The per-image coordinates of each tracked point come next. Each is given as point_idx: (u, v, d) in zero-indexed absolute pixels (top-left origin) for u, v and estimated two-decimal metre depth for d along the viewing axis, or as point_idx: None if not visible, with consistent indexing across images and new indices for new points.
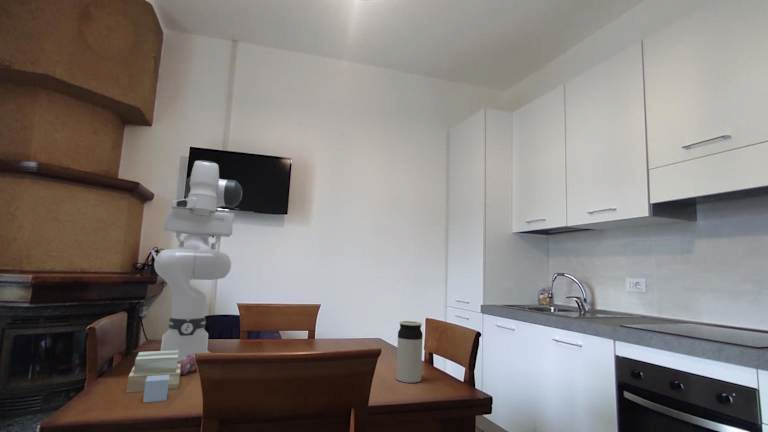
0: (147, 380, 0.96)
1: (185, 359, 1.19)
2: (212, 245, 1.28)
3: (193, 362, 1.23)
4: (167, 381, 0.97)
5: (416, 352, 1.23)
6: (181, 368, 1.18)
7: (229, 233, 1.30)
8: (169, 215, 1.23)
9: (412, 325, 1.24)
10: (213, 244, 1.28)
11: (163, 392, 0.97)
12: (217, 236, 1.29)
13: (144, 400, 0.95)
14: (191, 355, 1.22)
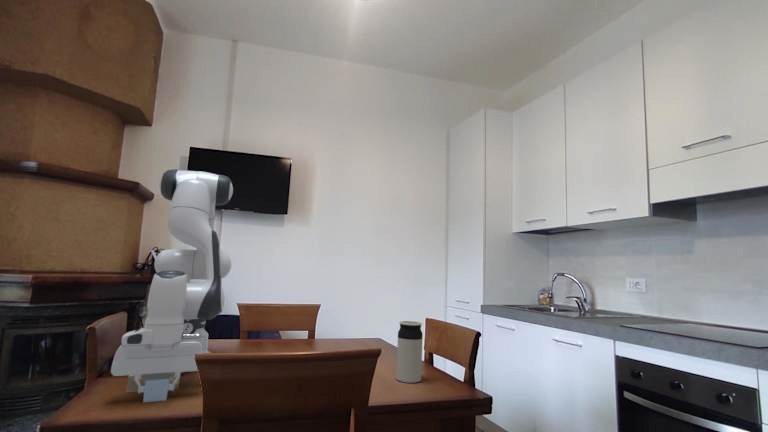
0: (147, 380, 0.96)
1: None
2: (169, 387, 0.99)
3: None
4: (167, 381, 0.97)
5: (416, 352, 1.23)
6: None
7: None
8: (117, 356, 0.93)
9: (412, 325, 1.24)
10: (171, 385, 0.99)
11: (164, 392, 0.97)
12: (176, 374, 1.00)
13: (144, 400, 0.95)
14: None
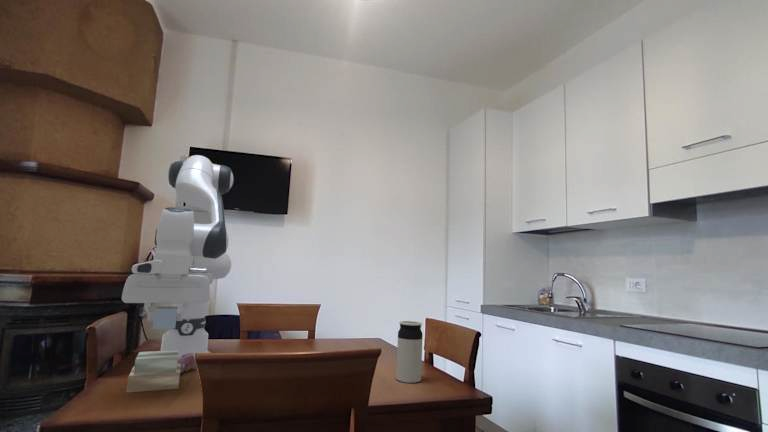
0: (156, 308, 1.00)
1: (180, 359, 1.19)
2: (177, 317, 1.02)
3: (188, 362, 1.23)
4: (176, 310, 1.01)
5: (416, 352, 1.23)
6: None
7: (205, 300, 1.05)
8: (127, 283, 0.97)
9: (412, 325, 1.24)
10: (179, 315, 1.02)
11: (172, 320, 1.00)
12: (184, 305, 1.03)
13: (154, 326, 0.98)
14: (186, 355, 1.22)
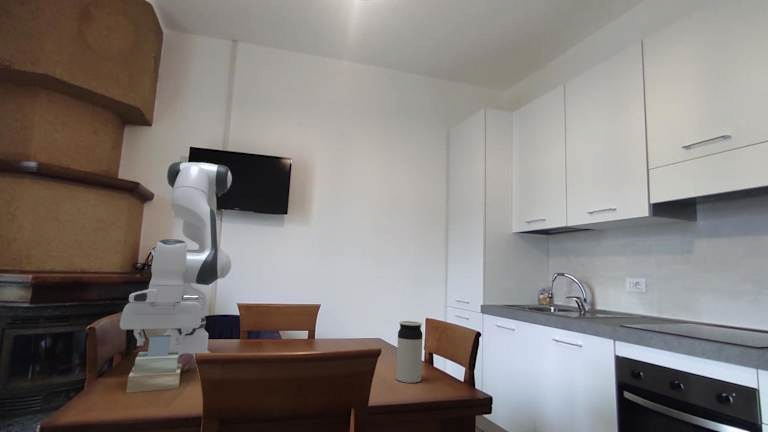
0: (151, 337, 1.08)
1: (178, 358, 1.20)
2: (177, 341, 1.12)
3: (186, 361, 1.23)
4: (169, 338, 1.10)
5: (416, 352, 1.23)
6: None
7: (197, 325, 1.14)
8: (125, 311, 1.06)
9: (412, 325, 1.24)
10: (178, 339, 1.12)
11: (165, 348, 1.09)
12: (183, 330, 1.13)
13: (148, 354, 1.07)
14: (184, 354, 1.22)
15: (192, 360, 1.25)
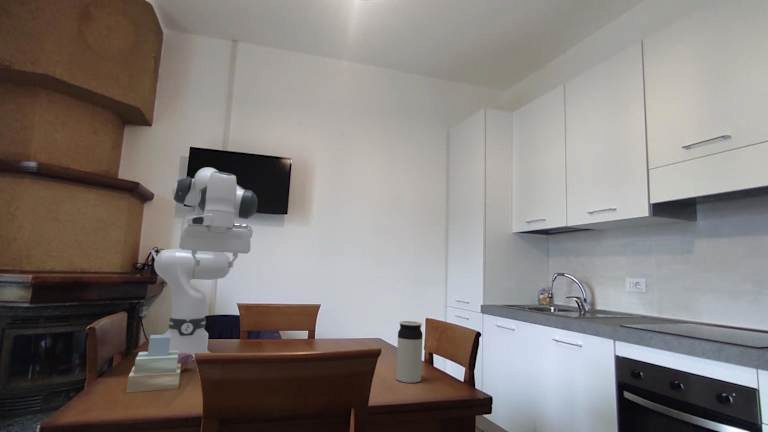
0: (151, 337, 1.08)
1: None
2: (229, 264, 1.21)
3: (183, 361, 1.23)
4: (169, 338, 1.10)
5: (416, 352, 1.23)
6: None
7: (247, 251, 1.23)
8: (184, 233, 1.15)
9: (412, 325, 1.24)
10: (230, 263, 1.21)
11: (165, 348, 1.09)
12: (234, 254, 1.22)
13: (148, 354, 1.07)
14: (181, 354, 1.22)
15: (189, 360, 1.25)
